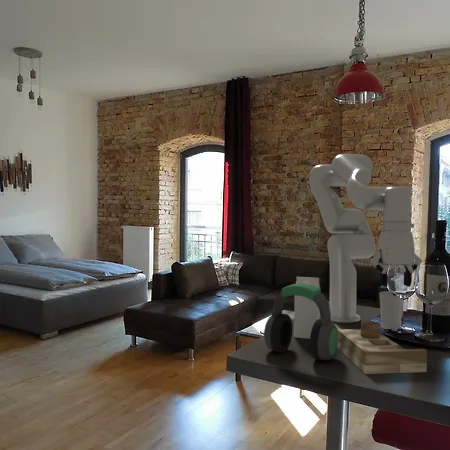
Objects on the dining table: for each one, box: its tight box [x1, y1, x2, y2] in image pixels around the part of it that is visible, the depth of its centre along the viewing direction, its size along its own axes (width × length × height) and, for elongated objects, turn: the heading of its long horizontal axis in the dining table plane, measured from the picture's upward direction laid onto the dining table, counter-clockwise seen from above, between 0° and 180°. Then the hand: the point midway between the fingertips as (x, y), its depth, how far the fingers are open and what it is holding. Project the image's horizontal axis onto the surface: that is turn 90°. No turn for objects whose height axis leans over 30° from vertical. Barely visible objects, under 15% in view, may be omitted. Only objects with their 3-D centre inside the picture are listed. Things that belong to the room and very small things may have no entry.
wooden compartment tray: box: [336, 325, 428, 375], centre depth 130 cm, size 32×16×6 cm, turn 5°
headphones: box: [263, 283, 338, 361], centre depth 127 cm, size 19×11×20 cm, turn 58°
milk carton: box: [293, 276, 321, 340], centre depth 146 cm, size 7×7×19 cm
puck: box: [360, 320, 381, 339], centre depth 138 cm, size 6×6×4 cm
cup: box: [378, 290, 405, 330], centre depth 155 cm, size 8×8×12 cm
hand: (395, 285), depth 138 cm, fingers open, 6 cm apart
